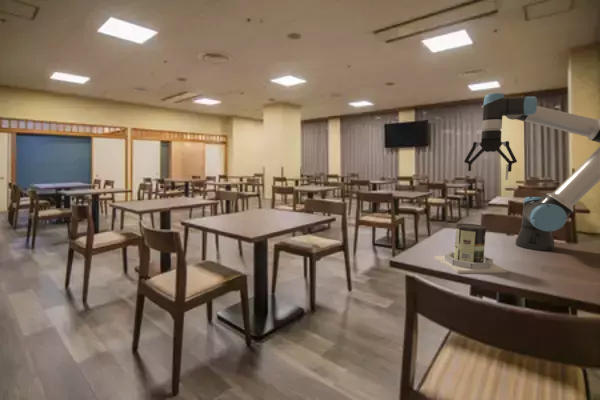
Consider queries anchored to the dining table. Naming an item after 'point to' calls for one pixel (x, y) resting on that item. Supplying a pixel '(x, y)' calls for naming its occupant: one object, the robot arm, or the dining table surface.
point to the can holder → (469, 265)
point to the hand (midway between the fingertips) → (488, 179)
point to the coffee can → (470, 242)
